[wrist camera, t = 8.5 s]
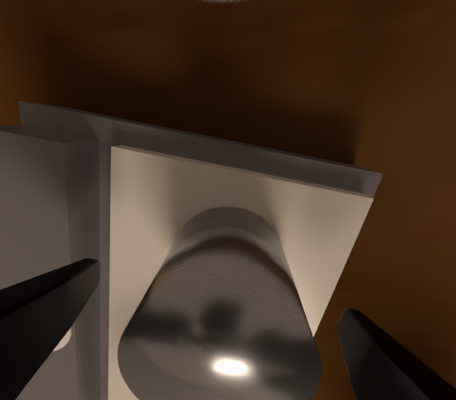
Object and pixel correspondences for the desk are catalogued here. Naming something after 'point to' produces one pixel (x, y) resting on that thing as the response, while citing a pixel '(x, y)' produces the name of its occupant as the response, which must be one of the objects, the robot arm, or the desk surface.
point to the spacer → (221, 318)
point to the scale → (153, 220)
